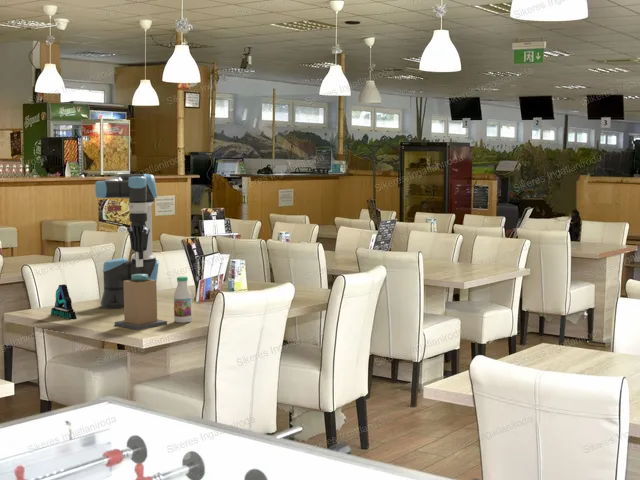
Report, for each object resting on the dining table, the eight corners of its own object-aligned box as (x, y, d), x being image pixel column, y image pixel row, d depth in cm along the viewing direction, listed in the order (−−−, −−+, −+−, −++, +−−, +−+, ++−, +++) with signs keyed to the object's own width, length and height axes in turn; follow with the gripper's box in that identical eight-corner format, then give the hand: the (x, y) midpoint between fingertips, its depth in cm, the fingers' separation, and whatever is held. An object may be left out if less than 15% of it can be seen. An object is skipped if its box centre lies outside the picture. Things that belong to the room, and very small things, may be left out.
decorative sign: (76, 319, 406) (75, 286, 404) (71, 320, 404) (70, 287, 402) (55, 314, 419) (54, 282, 417) (50, 314, 417) (49, 283, 416)
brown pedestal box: (114, 325, 390) (113, 281, 388) (144, 320, 401) (143, 277, 400) (137, 329, 379) (135, 284, 377) (167, 324, 391) (166, 280, 389)
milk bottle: (175, 320, 401) (174, 275, 399) (192, 319, 402) (191, 275, 400) (173, 323, 393) (172, 278, 391) (191, 323, 394) (190, 278, 392)
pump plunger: (129, 319, 390) (127, 275, 388) (142, 316, 395) (141, 273, 393) (142, 321, 383) (141, 276, 381) (156, 319, 389) (155, 275, 387)
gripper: (121, 212, 387) (123, 266, 390) (140, 213, 378) (141, 268, 381) (136, 211, 393) (137, 264, 395) (154, 212, 384) (155, 267, 386)
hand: (139, 266), depth 388 cm, fingers closed
